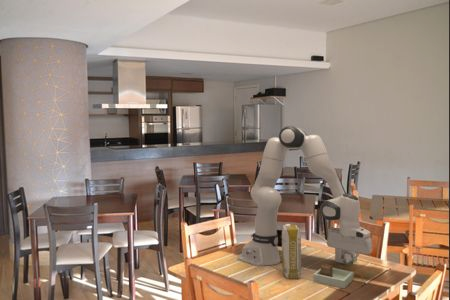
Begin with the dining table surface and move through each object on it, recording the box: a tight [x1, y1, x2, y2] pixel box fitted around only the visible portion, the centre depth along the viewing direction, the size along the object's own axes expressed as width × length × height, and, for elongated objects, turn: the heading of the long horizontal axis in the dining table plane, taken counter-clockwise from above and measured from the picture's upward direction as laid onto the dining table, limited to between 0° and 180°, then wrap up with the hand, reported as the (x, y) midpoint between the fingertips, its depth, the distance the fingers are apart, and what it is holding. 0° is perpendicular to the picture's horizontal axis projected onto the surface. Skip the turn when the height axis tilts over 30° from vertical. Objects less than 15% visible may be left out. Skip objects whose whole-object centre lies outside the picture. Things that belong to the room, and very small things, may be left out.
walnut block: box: [320, 263, 334, 277], centre depth 178 cm, size 4×4×5 cm
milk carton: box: [334, 222, 356, 265], centre depth 199 cm, size 7×7×19 cm
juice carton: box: [281, 223, 302, 279], centre depth 183 cm, size 9×8×24 cm
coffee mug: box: [277, 225, 283, 248], centre depth 229 cm, size 12×9×10 cm
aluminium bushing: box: [342, 251, 354, 266], centre depth 182 cm, size 4×4×5 cm
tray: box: [312, 267, 355, 289], centre depth 177 cm, size 14×12×3 cm
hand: (348, 259), depth 182 cm, fingers closed on aluminium bushing, 4 cm apart
